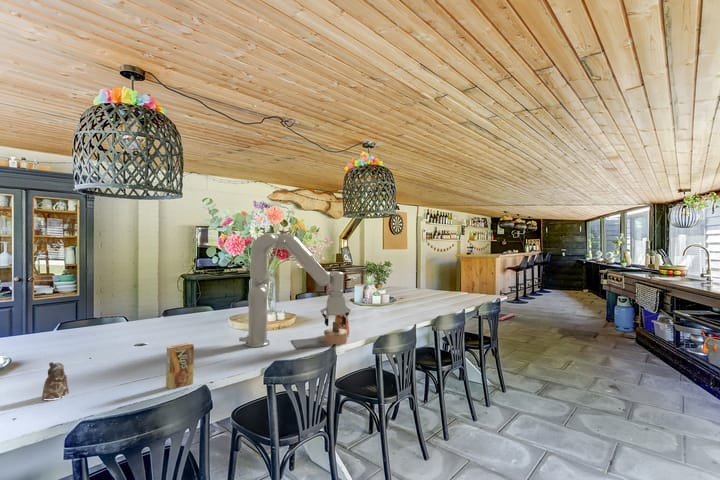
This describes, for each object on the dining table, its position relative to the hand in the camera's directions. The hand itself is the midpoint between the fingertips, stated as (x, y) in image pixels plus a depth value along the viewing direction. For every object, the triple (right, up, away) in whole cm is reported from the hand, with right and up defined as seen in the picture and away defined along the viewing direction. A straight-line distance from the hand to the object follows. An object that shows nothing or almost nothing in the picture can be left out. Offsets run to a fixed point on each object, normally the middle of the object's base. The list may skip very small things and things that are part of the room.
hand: (335, 324), depth 207 cm
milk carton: (+3, -10, +16) cm, 19 cm away
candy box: (-56, -9, -63) cm, 84 cm away
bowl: (0, -9, 0) cm, 9 cm away
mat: (-14, -9, -4) cm, 17 cm away
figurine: (-94, -9, -74) cm, 120 cm away
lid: (0, -4, 0) cm, 4 cm away
